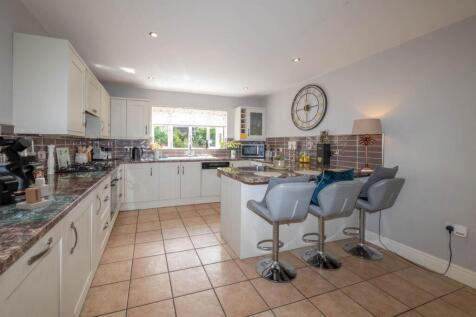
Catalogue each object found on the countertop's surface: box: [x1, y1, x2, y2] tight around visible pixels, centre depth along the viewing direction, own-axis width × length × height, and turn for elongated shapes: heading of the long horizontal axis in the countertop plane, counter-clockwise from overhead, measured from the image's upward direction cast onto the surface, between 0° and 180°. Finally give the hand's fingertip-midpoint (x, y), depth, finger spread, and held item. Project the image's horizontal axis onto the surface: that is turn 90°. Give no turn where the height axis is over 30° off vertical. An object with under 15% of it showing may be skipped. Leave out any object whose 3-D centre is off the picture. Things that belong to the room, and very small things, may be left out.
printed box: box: [28, 177, 50, 198], centre depth 143 cm, size 7×7×12 cm
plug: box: [24, 187, 43, 204], centre depth 122 cm, size 5×4×10 cm
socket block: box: [15, 199, 52, 211], centre depth 122 cm, size 10×10×2 cm
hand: (30, 180), depth 125 cm, fingers open, 9 cm apart
